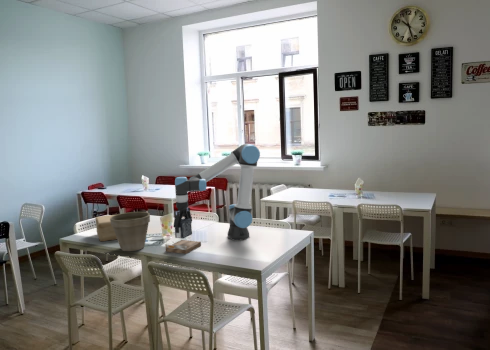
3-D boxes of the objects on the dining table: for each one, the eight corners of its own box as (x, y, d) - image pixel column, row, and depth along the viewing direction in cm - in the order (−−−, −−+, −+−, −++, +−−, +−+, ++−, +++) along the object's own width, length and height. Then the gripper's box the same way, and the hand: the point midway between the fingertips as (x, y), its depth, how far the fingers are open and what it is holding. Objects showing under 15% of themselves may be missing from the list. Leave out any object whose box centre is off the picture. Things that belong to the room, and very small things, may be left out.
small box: (183, 233, 271) (183, 217, 269) (192, 234, 268) (191, 218, 267) (174, 237, 261) (173, 221, 260) (183, 238, 258) (182, 222, 257)
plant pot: (105, 249, 269) (102, 216, 266) (137, 240, 287) (135, 209, 284) (126, 256, 252) (123, 221, 249) (159, 246, 270) (157, 214, 268)
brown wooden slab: (201, 245, 270) (200, 238, 269) (185, 254, 253) (185, 246, 253) (181, 243, 276) (181, 236, 275) (165, 251, 259) (164, 244, 259)
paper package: (132, 229, 320) (131, 211, 318) (138, 237, 297) (137, 218, 295) (96, 234, 309) (94, 215, 307) (99, 242, 286) (97, 222, 284)
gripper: (186, 197, 274) (188, 230, 276) (166, 204, 253) (168, 239, 256) (196, 198, 270) (198, 231, 273) (176, 205, 250) (178, 240, 252)
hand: (183, 235), depth 264 cm, fingers closed on small box, 10 cm apart
